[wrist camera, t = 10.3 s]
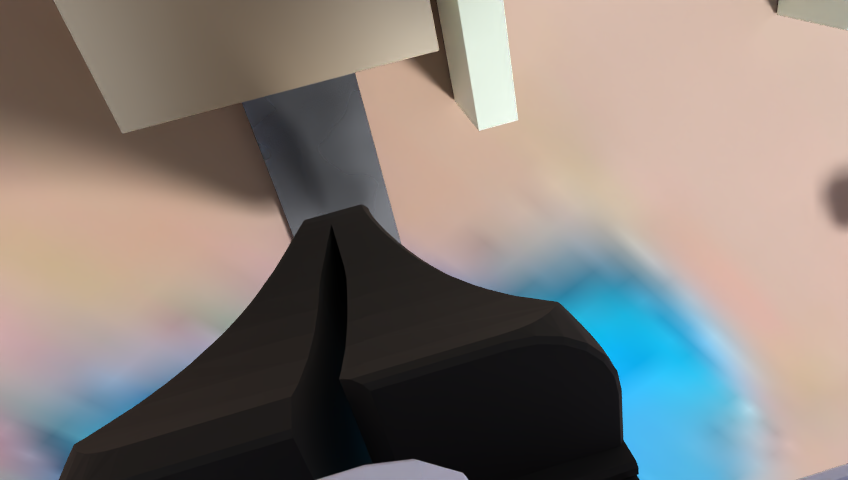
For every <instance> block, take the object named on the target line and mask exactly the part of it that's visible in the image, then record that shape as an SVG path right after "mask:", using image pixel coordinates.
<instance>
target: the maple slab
mask: <svg viewBox="0 0 848 480" xmlns="http://www.w3.org/2000/svg"><path fill="white" fill-rule="evenodd" d="M53 1H54V2H55V4H56V6H57V8H58V10H59V12H60V14H61V16H62V18H63V20H64V22H65V24H66V26H67V28H68V30H69V32H70V33H71V35H72V37H73V39H74V41H75V43H76V45H77V47H78V49H79V51H80V53H81V55H82V57H83V59H84V61H85V63H86V65H87V66H88V68H89V70H90V72H91V74H92V76H93V78H94V80H95V82H96V84H97V86H98V88H99V90H100V92H101V94H102V96H103V97H104V99H105V101H106V103H107V105H108V107H109V109H110V111H111V113H112V115H113V117H114V119H115V121H116V123H117V125H118V127H119V128H120V130H121V132H122V134H124V133H127V132H131V131H135V130H139V129H143V128H147V127H150V126H154V125H158V124H162V123H166V122H169V121H173V120H177V119H181V118H185V117H188V116H192V115H196V114H200V113H204V112H207V111H211V110H215V109H219V108H223V107H226V106H230V105H234V104H238V103H242V102H245V101H249V100H253V99H257V98H261V97H264V96H268V95H272V94H276V93H280V92H283V91H287V90H291V89H295V88H299V87H303V86H306V85H310V84H314V83H318V82H322V81H325V80H329V79H333V78H337V77H341V76H344V75H348V74H352V73H356V72H360V71H363V70H367V69H371V68H375V67H379V66H382V65H386V64H390V63H394V62H398V61H401V60H405V59H409V58H413V57H417V56H420V55H424V54H428V53H432V52H436V51H439V47H438V42H437V36H436V31H435V26H434V20H433V15H432V10H431V5H430V0H53Z"/></svg>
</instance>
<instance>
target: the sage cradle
mask: <svg viewBox="0 0 848 480" xmlns="http://www.w3.org/2000/svg"><path fill="white" fill-rule="evenodd" d="M436 1H437V6H438V12H439V17H440V23H441V28H442V34H443V39H444V45H445V50H446V56H447V61H448V67H449V72H450V78H451V83H452V89H453V94H454V100H455V102H456V103H457V105H458V106H459V107H460V108H461V109H462V111H463V112H464V113H465V114H466V116H467V117H468V118H469V119H470V120H471V122H472V123H473V124H474V125H475V127H476V128H477V129H478V130H479V131H480V130H484V129H487V128H491V127H495V126H498V125H502V124H506V123H509V122H513V121H517V120H518V115H517V107H516V99H515V91H514V83H513V75H512V67H511V59H510V51H509V43H508V35H507V27H506V19H505V11H504V3H503V0H436ZM777 15H780V16H784V17H789V18H793V19H798V20H802V21H807V22H811V23H816V24H820V25H825V26H829V27H834V28H838V29H843V30H848V0H779V1H778V10H777Z"/></svg>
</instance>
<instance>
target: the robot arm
mask: <svg viewBox="0 0 848 480" xmlns="http://www.w3.org/2000/svg"><path fill="white" fill-rule="evenodd" d="M637 475H638V465H637V463H636V460H635V458H634V457H633V455H632V453H631V452H630V450H629V449H628V447H627V445H626V444H625V442H624V440H623V419H622V391H621V385H620V381H619V377H618V372H617V370H616V369H615V367H614V366H613V364H612V362H611V361H610V359H609V357H608V356H607V354H606V353H605V351H604V350H603V349H602V347H601V346H600V345H599V344H598V342H597V341H596V340H595V339H594V338H593V336H592V335H591V334H590V333H589V332H588V331H587V330H586V329H585V328H584V327H583V326H582V325H581V324H580V323H579V322H578V321H577V320H576V319H575V318H574V317H573V316H572V315H571V314H570V313H569V312H568V311H567V310H566V309H565V308H564V307H563V306H562V305H561V304H560V303H558V302H554V301H547V300H540V299H533V298H526V297H519V296H513V295H508V294H504V293H500V292H496V291H492V290H488V289H485V288H482V287H478V286H475V285H472V284H470V283H467V282H465V281H462V280H459V279H457V278H454V277H452V276H450V275H447V274H445V273H443V272H442V271H440V270H438V269H436V268H434V267H433V266H431V265H429V264H428V263H426V262H425V261H423V260H421V259H420V258H418V257H417V256H416V255H414V254H413V253H412V252H410V251H409V250H407V249H406V248H405V247H404V246H402V245H401V244H400V243H399V242H398V241H397V240H395V239H394V238H393V237H392V236H391V235H390V234H389V233H388V232H387V231H386V230H385V229H384V228H383V227H382V226H381V225H380V224H379V223H378V222H377V221H376V220H375V218H374V217H373V216H372V214H371V213H370V211H369V208H368V207H366V206H364V205H362V204H360V205H357V206H353V207H349V208H346V209H342V210H339V211H335V212H331V213H328V214H324V215H321V216H317V217H314V218H310V219H306V220H304V221H303V223H302V224H301V226H300V228H299V229H298V231H297V233H296V234H295V236H294V238H293V240H292V241H291V243H290V245H289V247H288V248H287V250H286V252H285V254H284V255H283V257H282V259H281V260H280V262H279V263H278V265H277V267H276V268H275V270H274V271H273V273H272V274H271V276H270V277H269V278H268V280H267V281H266V283H265V284H264V285H263V287H262V288H261V290H260V291H259V293H258V294H257V295H256V297H255V298H254V299H253V301H252V302H251V303H250V304H249V306H248V307H247V308H246V309H245V310H244V311H243V313H242V314H241V315H240V316H239V317H238V318H237V319H236V320H235V322H234V323H233V324H232V325H231V326H230V327H229V328H228V329H227V330H226V331H225V332H224V333H223V334H222V335H221V336H220V337H219V338H218V339H217V340H216V341H215V342H214V343H213V344H212V345H211V346H209V347H208V348H207V349H206V350H205V351H204V352H203V353H202V354H201V355H200V356H199V357H197V358H196V359H195V360H194V361H193V362H192V363H191V364H190V365H189V366H187V367H186V368H185V369H184V370H183V371H181V372H180V373H179V374H178V375H176V376H175V377H174V378H173V379H171V380H170V381H169V382H168V383H166V384H165V385H164V386H162V387H161V388H160V389H158V390H157V391H155V392H154V393H153V394H151V395H150V396H149V397H147V398H146V399H145V400H143V401H142V402H140V403H139V404H137V405H136V406H135V407H133V408H132V409H130V410H129V411H127V412H125V413H124V414H122V415H121V416H119V417H118V418H116V419H114V420H113V421H111V422H110V423H108V424H107V425H105V426H104V427H102V428H100V429H99V430H97V431H96V432H94V433H93V434H91V435H89V436H88V437H86V438H85V439H83V440H81V441H79V442H78V443H76V444H74V446H73V448H72V450H71V452H70V455H69V457H68V459H67V462H66V464H65V466H64V469H63V471H62V474H61V476H60V478H59V480H639V478H638V477H637ZM797 480H848V463H847V464H844V465H841V466H838V467H835V468H831V469H828V470H825V471H822V472H819V473H816V474H813V475H810V476H806V477H803V478H800V479H797Z"/></svg>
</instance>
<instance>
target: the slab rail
mask: <svg viewBox="0 0 848 480" xmlns="http://www.w3.org/2000/svg"><path fill="white" fill-rule="evenodd" d="M242 104H243V107H244V109H245V112H246V115H247V117H248V120H249V122H250V125H251V128H252V130H253V133H254V135H255V138H256V140H257V143H258V146H259V148H260V151H261V153H262V156H263V159H264V161H265V164H266V166H267V169H268V172H269V174H270V177H271V179H272V182H273V184H274V187H275V190H276V192H277V195H278V197H279V200H280V203H281V205H282V208H283V210H284V213H285V216H286V218H287V221H288V223H289V226H290V229H291V231H292V234H293V236H295V234H296V233H297V231H298V229H299V228H300V226H301V224H302V223H303V221H304V220H306V219H310V218H314V217H317V216H321V215H324V214H328V213H331V212H335V211H339V210H342V209H346V208H349V207H353V206H357V205H360V204H362V205H364V206H366V207H368V208H369V211H370V213H371V214H372V216H373V217H374V218H375V220H376V221H377V222H378V223H379V224H380V225H381V226H382V227H383V228H384V229H385V230H386V231H387V232H388V233H389V234H390V235H391V236H392V237H393V238H394V239H395V240H397V241H398V242H399V243H400V244H401V242H400V238H399V234H398V231H397V227H396V223H395V220H394V216H393V212H392V208H391V205H390V201H389V197H388V194H387V190H386V186H385V183H384V179H383V175H382V172H381V168H380V164H379V160H378V157H377V153H376V149H375V146H374V142H373V138H372V135H371V131H370V127H369V123H368V120H367V116H366V112H365V109H364V105H363V101H362V98H361V94H360V90H359V87H358V83H357V79H356V75H355V73H352V74H348V75H344V76H341V77H337V78H333V79H329V80H325V81H322V82H318V83H314V84H310V85H306V86H303V87H299V88H295V89H291V90H287V91H283V92H280V93H276V94H272V95H268V96H264V97H261V98H257V99H253V100H249V101H245V102H242Z"/></svg>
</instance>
